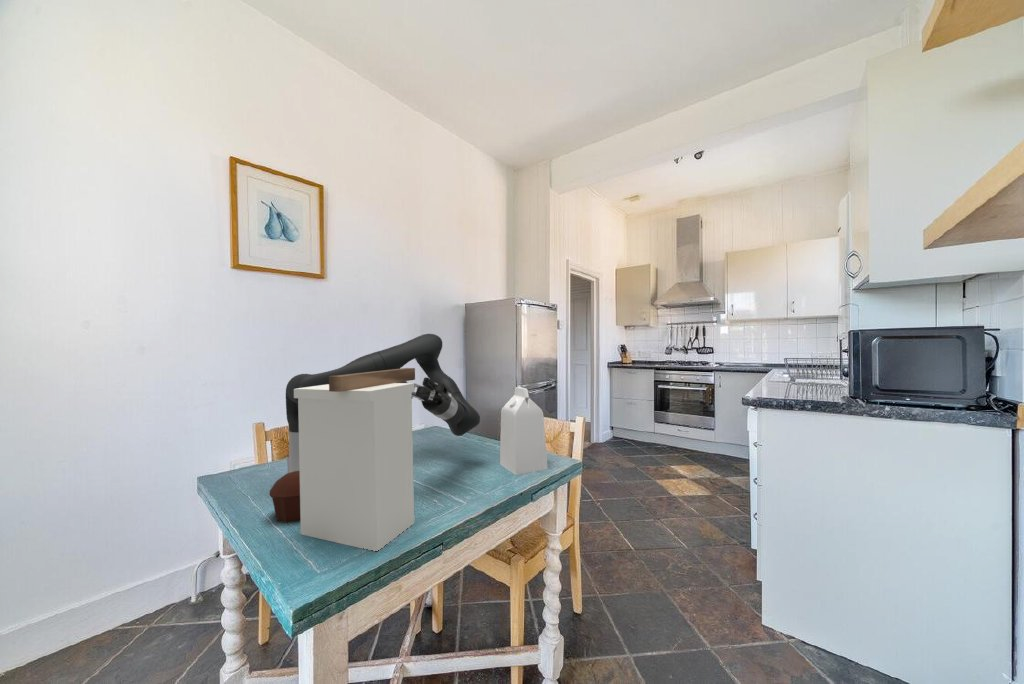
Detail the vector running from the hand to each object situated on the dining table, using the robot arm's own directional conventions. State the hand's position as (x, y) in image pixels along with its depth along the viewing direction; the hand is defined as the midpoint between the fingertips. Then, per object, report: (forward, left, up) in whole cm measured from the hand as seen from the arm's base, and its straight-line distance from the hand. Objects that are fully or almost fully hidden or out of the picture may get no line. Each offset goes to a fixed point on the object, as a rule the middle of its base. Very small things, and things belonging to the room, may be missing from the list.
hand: (410, 380), depth 94 cm
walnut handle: (0, -12, 0) cm, 12 cm away
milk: (+18, +35, -32) cm, 51 cm away
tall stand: (-4, -15, -32) cm, 35 cm away
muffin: (-24, -14, -32) cm, 42 cm away
